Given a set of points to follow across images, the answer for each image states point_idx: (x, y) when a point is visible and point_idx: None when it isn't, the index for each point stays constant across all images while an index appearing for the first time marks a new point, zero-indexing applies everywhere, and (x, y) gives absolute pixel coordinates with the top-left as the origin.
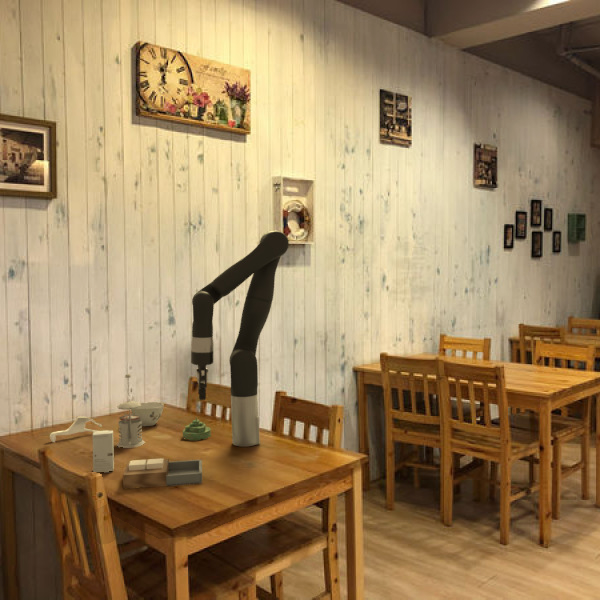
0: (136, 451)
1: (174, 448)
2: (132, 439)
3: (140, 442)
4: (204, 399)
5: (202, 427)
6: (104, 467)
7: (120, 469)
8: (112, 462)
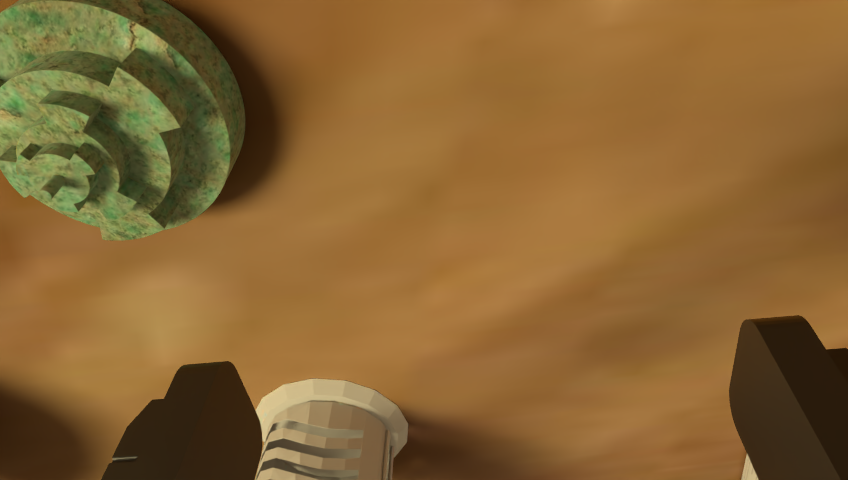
0: (482, 392)
1: (456, 221)
2: (382, 452)
3: (344, 402)
4: (790, 328)
5: (148, 90)
6: None
7: None
8: None
